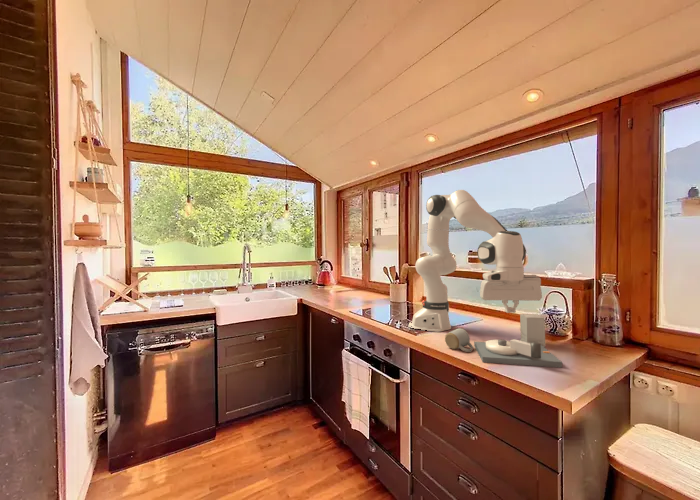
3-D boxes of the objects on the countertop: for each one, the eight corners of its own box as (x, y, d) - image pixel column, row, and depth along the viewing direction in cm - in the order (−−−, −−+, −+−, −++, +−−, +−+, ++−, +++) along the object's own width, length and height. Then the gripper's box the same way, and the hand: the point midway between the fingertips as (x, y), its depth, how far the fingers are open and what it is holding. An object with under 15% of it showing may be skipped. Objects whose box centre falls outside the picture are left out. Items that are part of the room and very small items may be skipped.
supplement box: (545, 347, 122) (545, 317, 122) (526, 346, 123) (526, 317, 123) (538, 341, 129) (537, 313, 129) (520, 341, 131) (519, 313, 131)
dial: (479, 348, 117) (479, 333, 117) (497, 342, 123) (496, 328, 123) (531, 364, 99) (531, 347, 99) (549, 357, 106) (548, 341, 106)
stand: (482, 362, 108) (482, 356, 108) (474, 346, 126) (474, 340, 126) (562, 367, 102) (562, 361, 102) (541, 349, 119) (541, 344, 119)
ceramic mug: (443, 347, 125) (443, 329, 125) (454, 343, 130) (454, 326, 130) (465, 354, 116) (465, 335, 116) (477, 350, 121) (476, 332, 121)
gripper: (536, 273, 107) (537, 310, 107) (478, 274, 110) (479, 310, 110) (545, 275, 101) (545, 314, 101) (483, 275, 104) (484, 314, 104)
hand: (510, 312), depth 106 cm, fingers closed
